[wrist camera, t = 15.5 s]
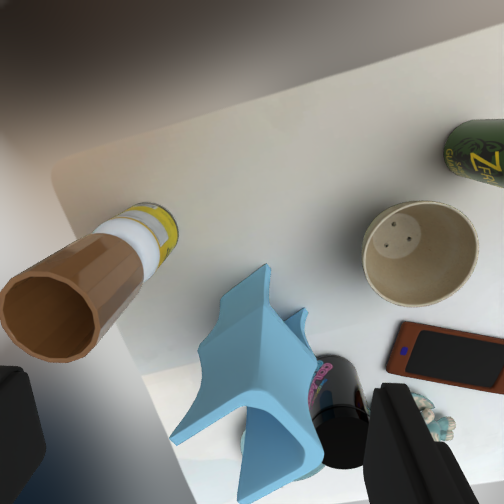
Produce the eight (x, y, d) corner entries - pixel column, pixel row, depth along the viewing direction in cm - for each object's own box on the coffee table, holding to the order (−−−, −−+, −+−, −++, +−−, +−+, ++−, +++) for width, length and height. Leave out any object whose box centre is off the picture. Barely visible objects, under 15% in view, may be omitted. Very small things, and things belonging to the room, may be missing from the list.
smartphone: (404, 323, 41) (534, 347, 41) (402, 319, 42) (529, 342, 42) (386, 374, 44) (509, 397, 44) (384, 369, 45) (504, 391, 45)
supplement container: (337, 342, 44) (354, 405, 34) (367, 380, 46) (393, 450, 36) (291, 369, 46) (295, 437, 36) (322, 405, 47) (335, 479, 37)
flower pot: (434, 279, 41) (466, 309, 34) (343, 275, 41) (357, 305, 34) (452, 189, 37) (491, 203, 31) (353, 186, 38) (370, 200, 31)
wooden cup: (53, 269, 30) (-21, 317, 23) (97, 216, 28) (33, 250, 21) (113, 318, 31) (62, 379, 24) (159, 270, 30) (120, 320, 22)
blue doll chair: (214, 301, 43) (166, 439, 24) (266, 263, 41) (258, 380, 22) (256, 347, 45) (242, 508, 26) (308, 312, 43) (333, 460, 24)
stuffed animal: (467, 490, 43) (371, 504, 42) (432, 441, 50) (348, 451, 49) (486, 419, 40) (382, 430, 38) (445, 376, 47) (355, 385, 45)
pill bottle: (134, 261, 42) (84, 310, 31) (115, 207, 40) (54, 239, 29) (187, 250, 41) (156, 296, 30) (170, 194, 39) (130, 222, 28)
